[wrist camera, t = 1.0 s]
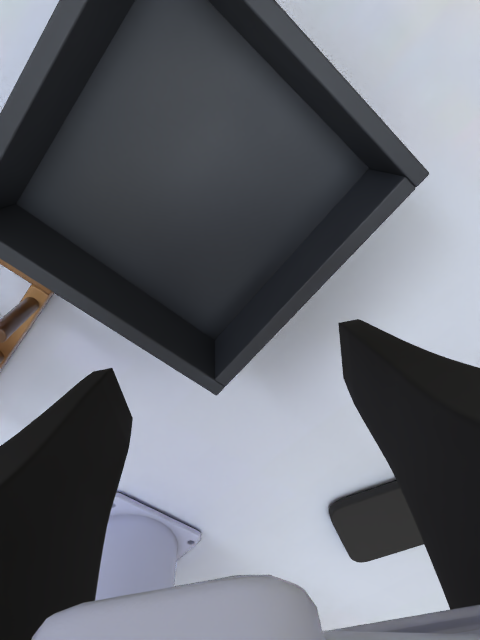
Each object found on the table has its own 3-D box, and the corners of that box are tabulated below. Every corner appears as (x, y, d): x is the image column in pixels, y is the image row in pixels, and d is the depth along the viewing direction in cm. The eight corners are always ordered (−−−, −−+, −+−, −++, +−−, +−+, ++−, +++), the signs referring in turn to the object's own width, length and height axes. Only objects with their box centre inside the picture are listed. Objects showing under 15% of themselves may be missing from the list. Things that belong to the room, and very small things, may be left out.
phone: (326, 511, 28) (532, 443, 26) (323, 502, 29) (523, 434, 27) (354, 566, 32) (540, 508, 29) (351, 556, 32) (533, 499, 30)
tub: (216, 350, 23) (216, 396, 19) (1, 204, 19) (-58, 222, 15) (384, 165, 19) (430, 173, 15) (159, -75, 15) (138, -154, 11)
